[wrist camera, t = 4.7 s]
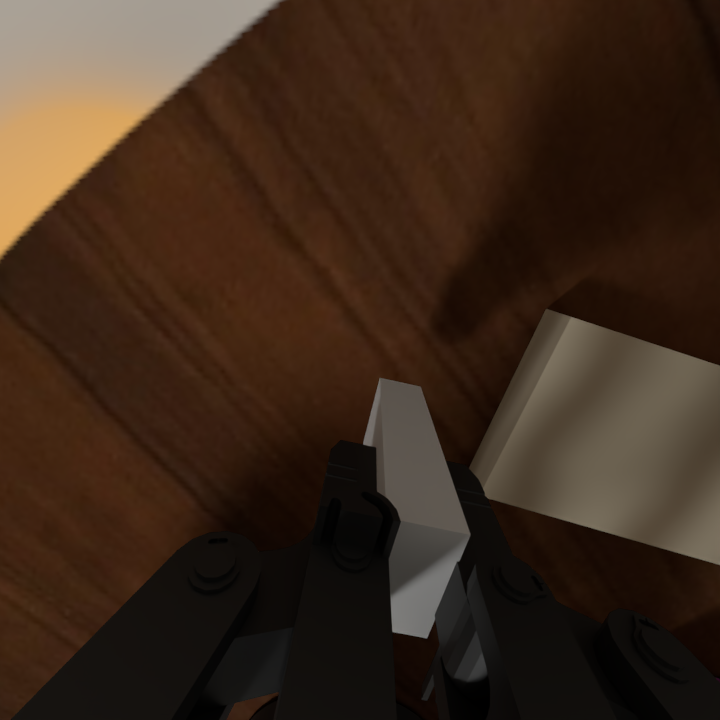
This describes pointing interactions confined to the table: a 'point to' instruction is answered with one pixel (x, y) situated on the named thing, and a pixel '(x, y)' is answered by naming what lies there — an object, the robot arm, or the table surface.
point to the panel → (610, 437)
